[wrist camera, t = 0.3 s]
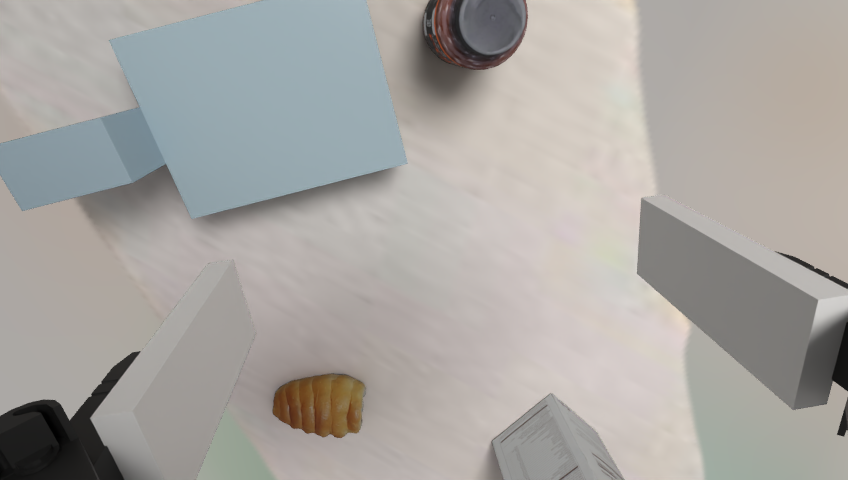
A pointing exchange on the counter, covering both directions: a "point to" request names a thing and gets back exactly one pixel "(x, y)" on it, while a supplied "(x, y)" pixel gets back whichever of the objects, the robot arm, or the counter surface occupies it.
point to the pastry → (321, 404)
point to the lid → (229, 111)
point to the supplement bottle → (475, 30)
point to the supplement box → (553, 447)
